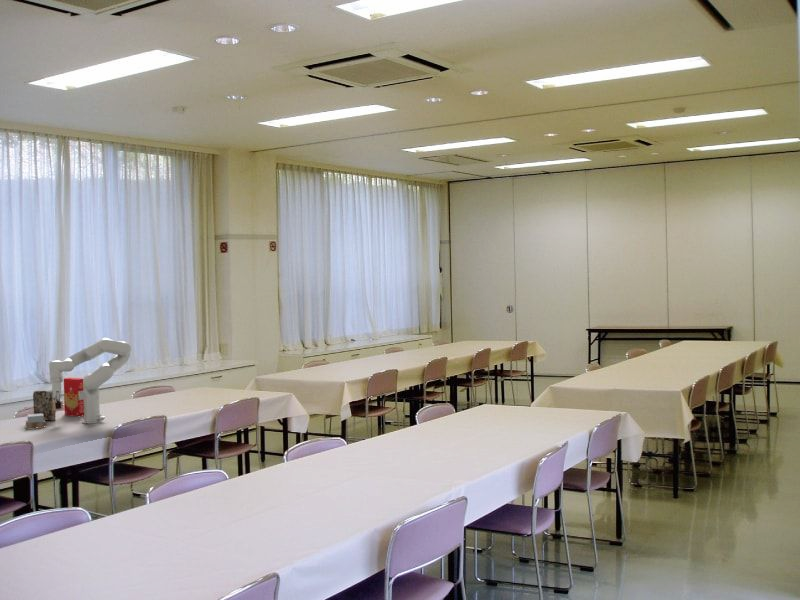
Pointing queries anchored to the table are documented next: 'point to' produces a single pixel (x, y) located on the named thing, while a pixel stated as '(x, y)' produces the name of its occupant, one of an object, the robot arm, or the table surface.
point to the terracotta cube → (55, 405)
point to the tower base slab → (35, 424)
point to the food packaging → (73, 396)
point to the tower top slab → (35, 418)
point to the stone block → (44, 404)
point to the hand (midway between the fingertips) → (58, 407)
